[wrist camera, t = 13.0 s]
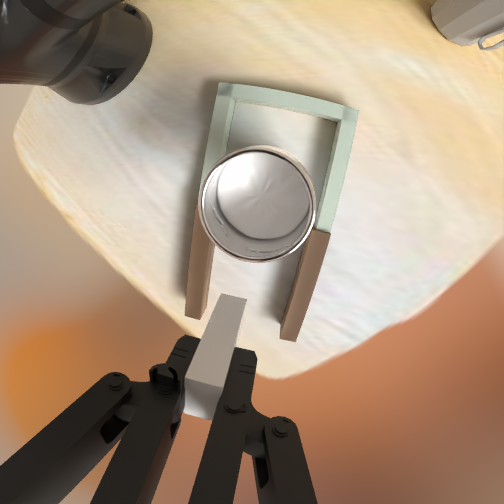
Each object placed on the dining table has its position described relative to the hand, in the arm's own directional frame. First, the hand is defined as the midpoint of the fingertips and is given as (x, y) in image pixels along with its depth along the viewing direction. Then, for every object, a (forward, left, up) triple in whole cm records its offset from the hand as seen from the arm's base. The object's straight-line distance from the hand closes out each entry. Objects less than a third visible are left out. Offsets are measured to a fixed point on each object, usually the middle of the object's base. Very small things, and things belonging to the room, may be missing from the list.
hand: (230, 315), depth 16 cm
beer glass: (0, +6, -17) cm, 18 cm away
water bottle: (+19, +34, -17) cm, 42 cm away
